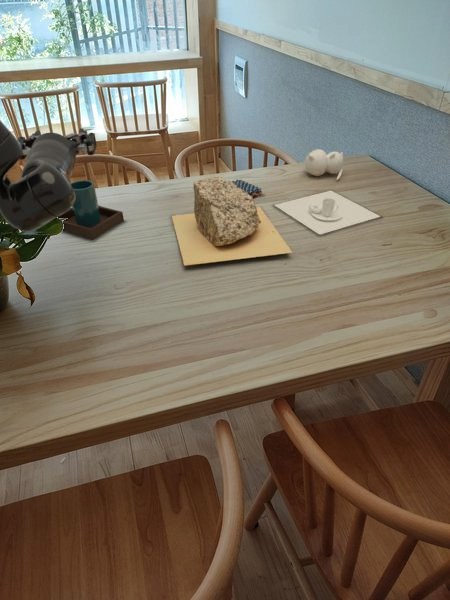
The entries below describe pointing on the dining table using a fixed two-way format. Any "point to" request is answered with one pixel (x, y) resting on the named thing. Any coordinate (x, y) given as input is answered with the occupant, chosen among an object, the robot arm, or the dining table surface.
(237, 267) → the dining table surface
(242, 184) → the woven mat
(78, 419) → the dining table surface
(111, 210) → the tray
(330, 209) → the teacup and saucer
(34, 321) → the dining table surface
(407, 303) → the dining table surface
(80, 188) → the cup
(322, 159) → the cat figurine
